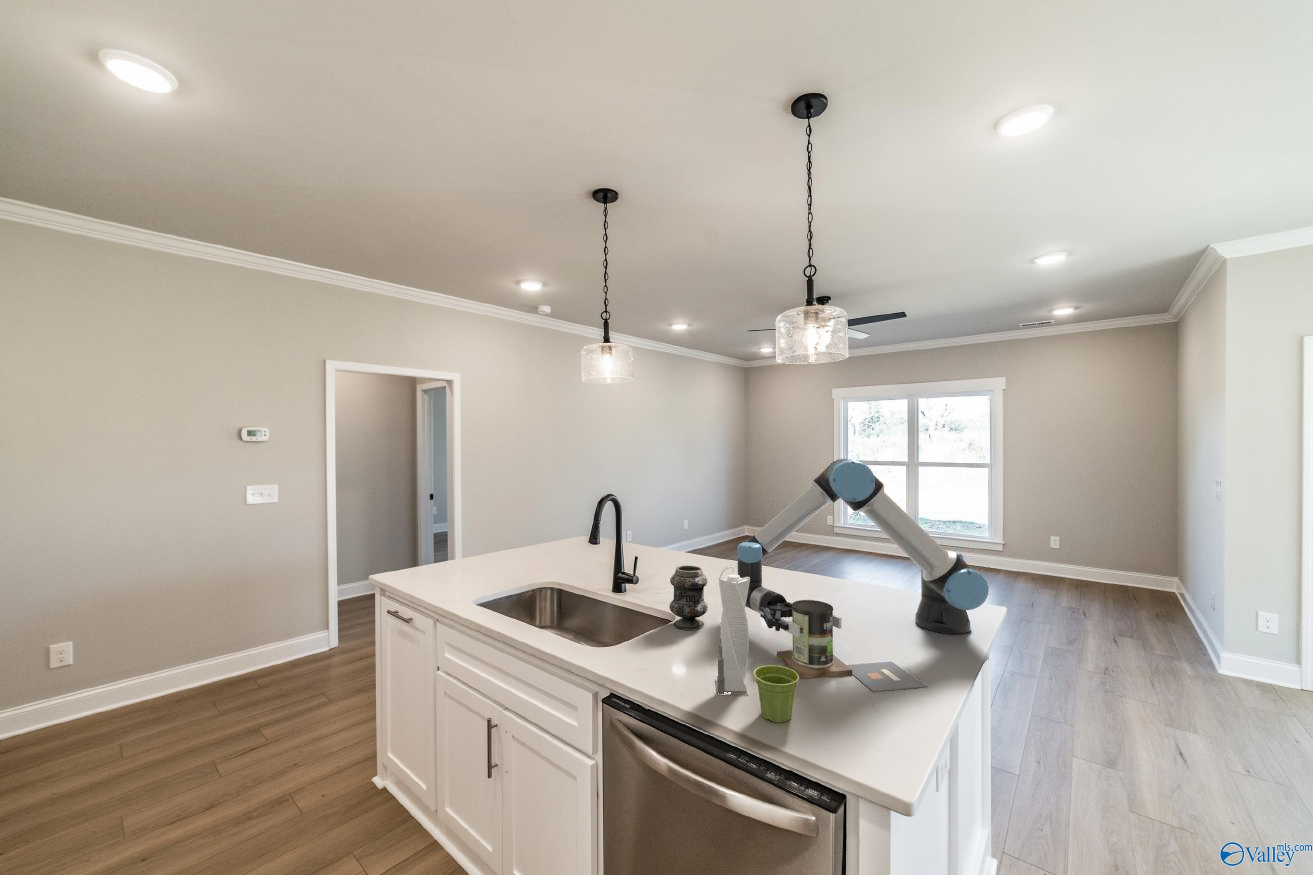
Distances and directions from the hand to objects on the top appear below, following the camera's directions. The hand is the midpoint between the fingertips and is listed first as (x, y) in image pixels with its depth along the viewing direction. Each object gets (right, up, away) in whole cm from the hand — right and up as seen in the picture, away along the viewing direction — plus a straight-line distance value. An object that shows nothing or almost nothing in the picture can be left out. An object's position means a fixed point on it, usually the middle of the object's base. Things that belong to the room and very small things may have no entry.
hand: (820, 627), depth 132 cm
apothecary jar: (-31, -11, +32) cm, 46 cm away
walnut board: (-1, -11, +2) cm, 11 cm away
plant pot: (-16, -11, -22) cm, 30 cm away
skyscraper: (-23, -11, -9) cm, 28 cm away
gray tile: (+14, -11, -4) cm, 18 cm away
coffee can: (-1, -10, +3) cm, 10 cm away
